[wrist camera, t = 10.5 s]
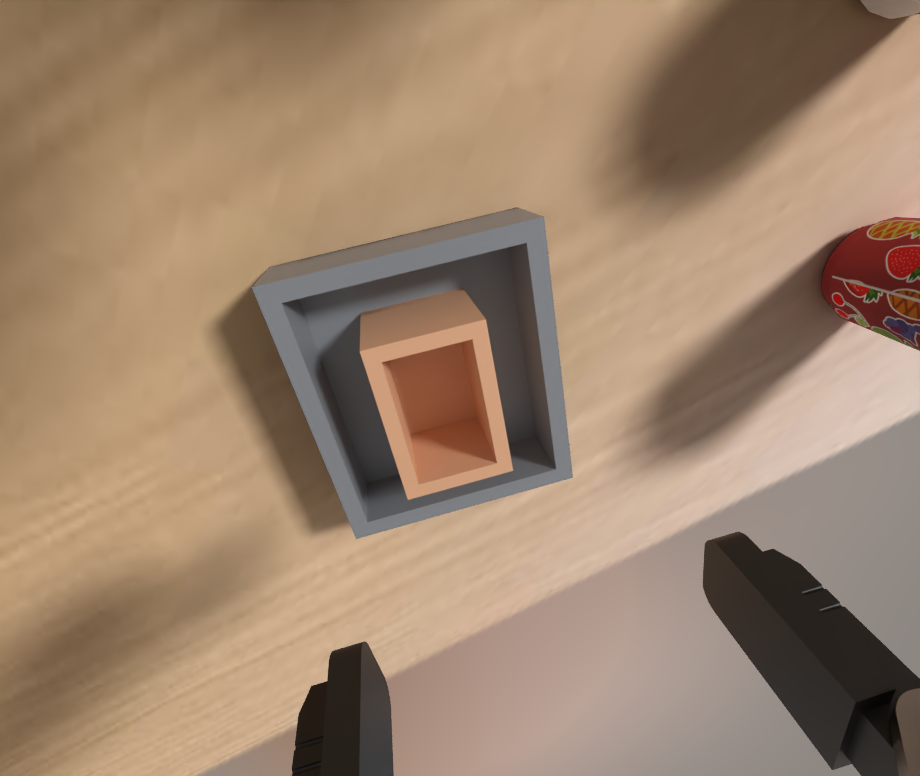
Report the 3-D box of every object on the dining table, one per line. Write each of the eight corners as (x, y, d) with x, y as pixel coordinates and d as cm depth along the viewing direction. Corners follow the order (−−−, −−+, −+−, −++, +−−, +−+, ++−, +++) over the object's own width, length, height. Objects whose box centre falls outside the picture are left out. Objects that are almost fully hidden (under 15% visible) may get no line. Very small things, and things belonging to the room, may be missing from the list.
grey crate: (517, 207, 27) (543, 216, 23) (548, 439, 34) (572, 477, 30) (269, 267, 26) (251, 287, 22) (357, 492, 33) (356, 538, 29)
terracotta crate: (462, 287, 27) (485, 319, 22) (488, 417, 32) (513, 470, 26) (360, 312, 27) (359, 351, 22) (400, 441, 31) (407, 499, 26)
